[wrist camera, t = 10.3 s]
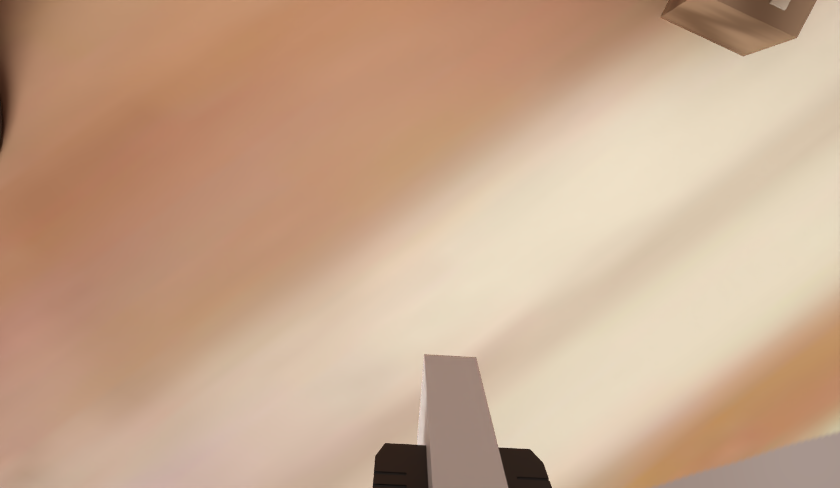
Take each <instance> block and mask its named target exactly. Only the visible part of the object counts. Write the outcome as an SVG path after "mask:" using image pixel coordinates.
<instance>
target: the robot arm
mask: <svg viewBox="0 0 840 488" xmlns="http://www.w3.org/2000/svg"><path fill="white" fill-rule="evenodd" d="M1 132H2V109H1V102H0V140H1ZM417 441H418V445H409V444H390V443H385V444H384V445H383V447H382V448H381V449H380V451H379V452H378V453H377V455H376V456H375V467H374V479H373V488H552V487H551V484H550V481H549V480H548V475H547V472H546V470H545V467H544V464H543V462H542V461H541V460H540V459H539V458H538V457H537V456H536V455H535V454H534V453H533V452H532V451H531V450H530V449H515V448H498V444H497V440H496V436H495V432H494V428H493V424H492V420H491V416H490V412H489V408H488V404H487V400H486V396H485V392H484V388H483V383H482V379H481V375H480V371H479V367H478V363H477V359H476V357H461V356H444V355H427V354H424V364H423V376H422V388H421V400H420V412H419V424H418V436H417Z"/></svg>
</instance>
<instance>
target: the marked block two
mask: <svg viewBox="0 0 840 488" xmlns="http://www.w3.org/2000/svg"><path fill="white" fill-rule="evenodd" d="M816 1H817V0H669V1H668V3H667V5H666V7H665V9H664V11H663V13H662V15H661V18H663V19H665V20H667V21H669V22H671V23H673V24H675V25H678V26H680V27H682V28H684V29H686V30H688V31H690V32H693V33H695V34H697V35H699V36H701V37H703V38H705V39H707V40H710V41H712V42H714V43H716V44H718V45H720V46H722V47H725V48H727V49H729V50H731V51H733V52H735V53H737V54H740V55H742V56H745V55H748V54H751V53H754V52H757V51H760V50H763V49H766V48H769V47H772V46H775V45H778V44H780V43H783V42H786V41H789V40H792V39H795V38H797V36H798V35H799V33H800V31H801V29H802V27H803V25H804V23H805V21H806V19H807V18H808V16H809V14H810V12H811V10H812V8H813V6H814V4H815V2H816Z"/></svg>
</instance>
